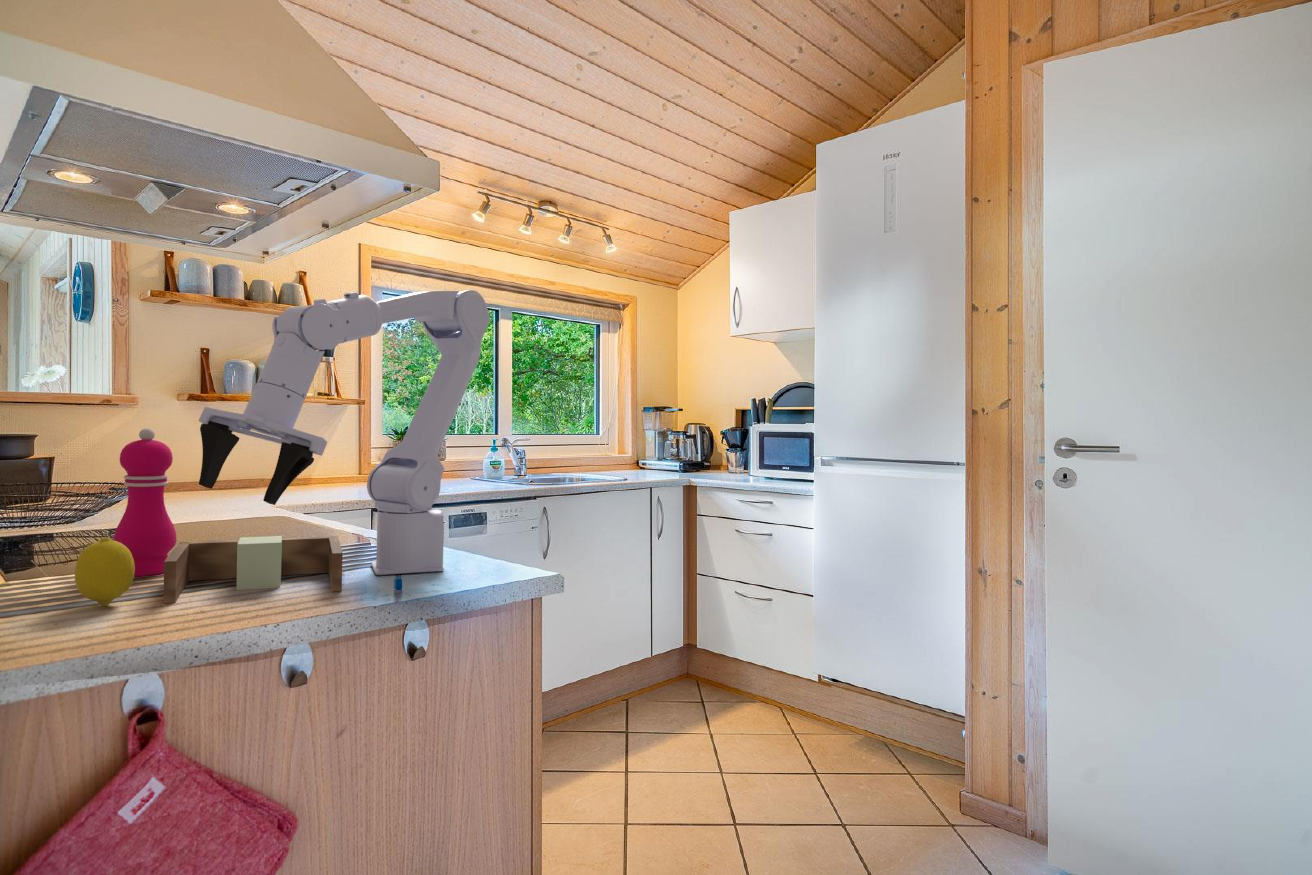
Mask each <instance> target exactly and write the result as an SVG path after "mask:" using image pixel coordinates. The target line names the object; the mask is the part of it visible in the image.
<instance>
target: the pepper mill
mask: <svg viewBox="0 0 1312 875" xmlns="http://www.w3.org/2000/svg"><path fill="white" fill-rule="evenodd" d="M155 436H156V434H155V432H154V430H153V429H151V428H147V427H146V428H143V429H141V430H140V431H139V434H138V438H140V439H138V440H134V441H131V442H129V443H127V444H126V445H125V446H124V447H123V448H122V449H121V452H120V454H119V464H120V466H121V467H122V468H123V469H124V471H125V472H126V474H125V475H124V476H123V479H124V482H123V485H124V486H126V487H127V504H126V508H125V509H124V513H123V515H122V517H121V519H120V521H119V522H118V525H117V526H116V529H115V531H114V533H113V539H112V540H113V541H117V542H120V543H122V544H123V545H125V546H126V547H127V548H128V549H129V550H130V552H131V554H132V556H133V560H134V565H135V573H134V578H135V577H147V576H148V577H149V576H157V575H163V574H164V561H165V560H166V559H167V557H168V556H169V552H170V551H171V550H172V549H173V548H174V547H176V544H177V540H178V539H177V532H176V528H175V526H174V523H173V522H172V520H171V517H170V516H169V514H168V512H167V511H168V510H167V509H166V504H165V495H164V494H165V486H167V485H168V484H169V481H168V478H169V475H168V474H165V473H167V470H168V469H169V468H171V466H172V465H173V459H174V458H173V457H174V456H173V452H172V449H171V448H170V447H169V446H168V445H167V444H165V442H162V441H159V440H155V439H154V438H155Z"/></svg>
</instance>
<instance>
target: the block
mask: <svg viewBox="0 0 1312 875" xmlns="http://www.w3.org/2000/svg"><path fill="white" fill-rule="evenodd" d="M282 538H283V536H282V535H275V536H273V535H271V536H245V537H244V536H243V537H239V539H238V540H239V542H238V544H237V578H236V591H244V590H245V591H247V590H259V589H262V590H263V589H274V588H275V589H276V588H281V585H282V575H281V562H282Z"/></svg>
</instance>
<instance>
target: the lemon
mask: <svg viewBox="0 0 1312 875" xmlns="http://www.w3.org/2000/svg"><path fill="white" fill-rule="evenodd" d="M134 573H135V565H134V560H133V556H132V554H131V552H130V550H129V549H128V548H127V547H126V546H125V545H123V544H122V543H120V542H117V541H113V539H112V538H110V537H108V536H107V537H101V538H100V540H98V541H95V542H93V543H91V544H89V545H88V546H86V547H85V548H84V549H83V550H82V551H81V553H80V554H79V555H78V558H77V560H76V564H75V569H74V582H75V585H76V588H77V590H78V592H79V593H80V594H81V595H82V596H83V597H85V598H86V599H88V600H90V601H93V602H94V601H95V602H96V603H98V604H99V605H100V606H103V607H105V606H108V605H109V604H111V603H112V602H113V601H114V600H115V599H117V598H119V597H121V596H123V595H124V594H126V592H127V591H128V590H129V588H130V587H131V585H132V583H133V581H134V578H135V577H134Z"/></svg>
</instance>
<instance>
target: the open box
mask: <svg viewBox="0 0 1312 875" xmlns="http://www.w3.org/2000/svg"><path fill="white" fill-rule="evenodd" d="M238 542H239V539H236V540H235V539H234V540H232V539H231V540H212V541H211V540H210V541H205V540H204V541H185V542H179V543H178V544H177V545H176V546H175V548H174V549H173V550H172V552H171V553H170V554H168V557H167V559H166V560H165V561H164V573H163V604H174V603H176V602H177V601H178V599H179V597H180V596H181V595H182V593H183V590H184V589H185V588H186V586H187V584H188V583H189V582H191V581H205V580H208V581H209V580H220V579H222V580H223V579H224V580H225V579H237V544H238ZM341 546H342V545H341V543H340V539H339V536H337V535H336V536H335V535H334V536H316V537H315V536H314V537H312V536H307V537H287V538H285V537H284V538H283V537H282V562H281V576H291V575H294V576H295V575H307V574H309V575H311V574H325V573H327V574H328V577H329V578H328V580H329V585H330V589H331V592H332V593H333V592H342V590H343V589H342V588H343V555H344V554H343V550H342V547H341Z"/></svg>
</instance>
